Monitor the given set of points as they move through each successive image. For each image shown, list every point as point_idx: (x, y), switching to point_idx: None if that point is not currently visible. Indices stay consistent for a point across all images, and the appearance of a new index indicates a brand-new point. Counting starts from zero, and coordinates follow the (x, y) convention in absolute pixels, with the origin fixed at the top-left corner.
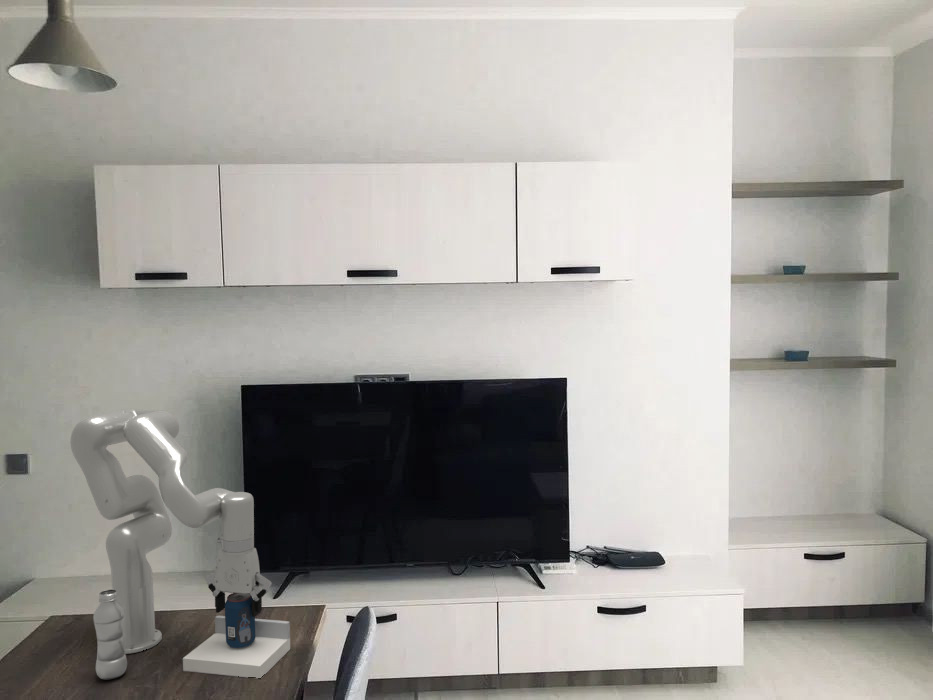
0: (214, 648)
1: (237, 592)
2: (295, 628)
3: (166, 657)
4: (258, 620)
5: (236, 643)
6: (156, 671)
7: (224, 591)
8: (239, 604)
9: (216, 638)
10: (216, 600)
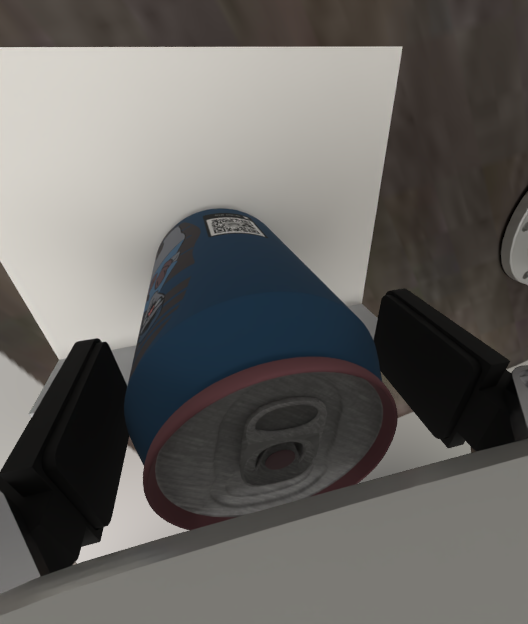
0: (305, 194)
1: (215, 550)
2: None
3: (460, 158)
4: None
5: (197, 215)
6: (468, 27)
7: (504, 455)
8: (185, 365)
9: (339, 271)
10: (471, 341)
